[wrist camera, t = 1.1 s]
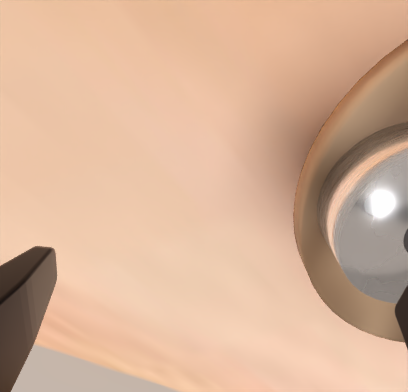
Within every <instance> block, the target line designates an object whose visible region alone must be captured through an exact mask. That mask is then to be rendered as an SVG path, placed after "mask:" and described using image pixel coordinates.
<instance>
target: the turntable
mask: <svg viewBox="0 0 408 392" xmlns="http://www.w3.org/2000/svg"><path fill="white" fill-rule="evenodd" d="M405 122H408V40H406V41H405V42H404V43H402V44H401V45H400V46H398V47H397V48H396V49H394V50H393V51H392V52H390V53H389V54H388V55H386V56H385V57H384V58H383V59H381V60H380V61H379V62H378V63H377V64H376V65H375V66H374V67H373V68H372V69H371V70H370V71H369V72H367V73H366V74H365V75H364V76H363V77H362V78H361V79H360V80H359V81H358V82H357V83H356V84H355V85H354V87H353V88H352V89H351V90H350V91H349V92H348V93H347V95H346V96H345V97H344V98H343V99H342V100H341V101H340V103H339V104H338V105H337V107H336V108H335V110H334V111H333V112H332V114H331V115H330V117H329V118H328V120H327V121H326V122H325V124H324V125H323V127H322V128H321V130H320V132H319V134H318V136H317V138H316V139H315V141H314V143H313V145H312V147H311V149H310V151H309V153H308V156H307V158H306V161H305V163H304V166H303V168H302V171H301V174H300V178H299V182H298V186H297V190H296V194H295V203H294V213H293V217H294V234H295V238H296V243H297V247H298V251H299V254H300V256H301V259H302V261H303V263H304V266H305V268H306V270H307V273H308V275H309V277H310V280H311V282H312V284H313V286H314V288H315V289H316V291H317V293H318V294H319V296H320V297H321V299H322V300H323V301H324V302H325V304H326V305H327V306H328V307H329V308H330V309H331V310H332V311H333V312H334V313H335V314H337V315H338V316H339V317H340V318H342V319H343V320H344V321H345V322H347V323H349V324H351V325H352V326H354V327H356V328H358V329H360V330H362V331H364V332H367V333H369V334H372V335H374V336H377V337H381V338H385V339H389V340H393V341H399V342H405V341H404V338H403V335H402V333H401V330H400V327H399V325H398V322H397V319H396V316H395V306H396V303H389V302H384V301H381V300H377V299H374V298H372V297H370V296H367V295H366V294H364V293H363V292H361V291H359V290H358V289H357V288H356V287H355V286H354V285H352V283H351V282H350V281H349V280H348V278H347V277H346V275H345V273H344V272H343V270H342V268H341V266H340V265H339V263H338V261H337V259H336V258H335V256H334V254H333V252H332V251H331V249H330V247H329V245H328V244H327V242H326V240H325V238H324V237H323V235H322V233H321V231H320V228H319V225H318V220H317V203H318V197H319V194H320V190H321V188H322V185H323V183H324V181H325V179H326V177H327V175H328V174H329V172H330V170H331V169H332V168H333V166H334V165H335V164H336V162H337V161H338V160H339V159H340V158H341V157H342V156H343V155H344V154H345V153H346V152H347V151H348V150H349V149H351V148H352V147H353V146H354V145H355V144H357V143H358V142H360V141H361V140H363V139H364V138H366V137H367V136H369V135H371V134H373V133H375V132H377V131H379V130H382V129H384V128H386V127H389V126H393V125H396V124H400V123H405Z"/></svg>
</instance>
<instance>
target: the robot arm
mask: <svg viewBox="0 0 408 392" xmlns="http://www.w3.org/2000/svg"><path fill="white" fill-rule="evenodd" d="M56 280H57V267H56V254H55V250H54V249H53V248H51V247H42V246H35V247H33V248H31V249H29V250H28V251H26V252H24V253H22V254H21V255H19V256H17V257H15V258H13V259H12V260H10V261H8V262H6V263H5V264H3V265H1V266H0V392H11V390H12V388H13V386H14V384H15V382H16V380H17V377H18V375H19V374H20V371H21V369H22V367H23V365H24V363H25V361H26V359H27V357H28V355H29V353H30V351H31V349H32V346H33V344H34V342H35V339H36V337H37V334H38V331H39V329H40V326H41V323H42V320H43V317H44V315H45V312H46V309H47V306H48V304H49V301H50V298H51V295H52V292H53V290H54V287H55V284H56ZM395 316H396V319H397V322H398V325H399V327H400V330H401V333H402V335H403V338H404V341H405V343H406V346H407V349H408V286H407V287H406V288H405V290H404V291H403V293H402V295H401V297H400V298H399V300H398V302H397V304H396V306H395Z"/></svg>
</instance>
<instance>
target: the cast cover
mask: <svg viewBox="0 0 408 392" xmlns="http://www.w3.org/2000/svg"><path fill="white" fill-rule="evenodd" d="M317 220H318V225H319V228H320V231H321V233H322V235H323V237H324V238H325V240H326V242H327V244H328V245H329V247H330V249H331V251H332V252H333V254H334V256H335V258H336V259H337V261H338V263H339V265H340V266H341V268H342V270H343V272H344V273H345V275H346V277H347V278H348V280H349V281H350V282H351V283H352V285H354V286H355V287H356V288H357V289H358V290H359V291H361V292H363V293H364V294H366V295H367V296H370V297H372V298H374V299H377V300H381V301H384V302H389V303H396V304H397V302H398V300H399V298H400V297H401V295H402V293H403V291H404V290H405V288H406V287H407V286H408V122H405V123H400V124H396V125H393V126H389V127H386V128H384V129H382V130H379V131H377V132H375V133H373V134H371V135H369V136H367V137H366V138H364V139H363V140H361V141H360V142H358V143H357V144H355V145H354V146H353V147H352V148H351V149H349V150H348V151H347V152H346V153H345V154H344V155H343V156H342V157H341V158H340V159H339V160H338V161H337V162H336V164H335V165H334V166H333V168H332V169H331V170H330V172H329V174H328V175H327V177H326V179H325V181H324V183H323V185H322V188H321V190H320V194H319V197H318V203H317Z"/></svg>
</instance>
